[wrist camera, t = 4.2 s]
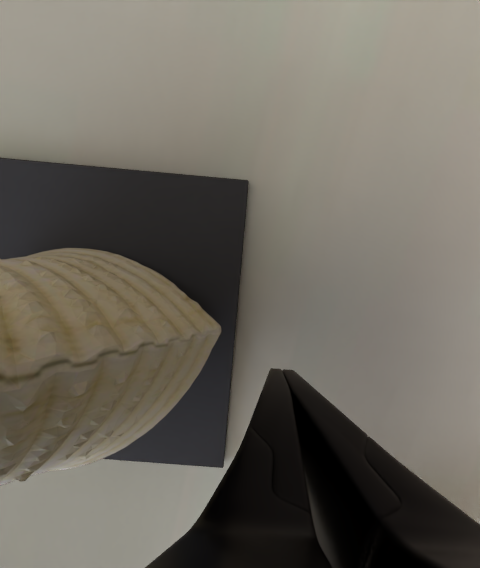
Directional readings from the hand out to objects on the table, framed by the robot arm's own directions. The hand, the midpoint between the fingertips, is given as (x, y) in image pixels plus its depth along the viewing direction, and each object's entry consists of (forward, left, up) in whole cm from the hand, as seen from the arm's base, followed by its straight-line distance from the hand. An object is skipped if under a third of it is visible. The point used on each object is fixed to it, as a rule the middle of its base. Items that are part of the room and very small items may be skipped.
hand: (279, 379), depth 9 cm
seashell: (+8, 0, -2) cm, 8 cm away
